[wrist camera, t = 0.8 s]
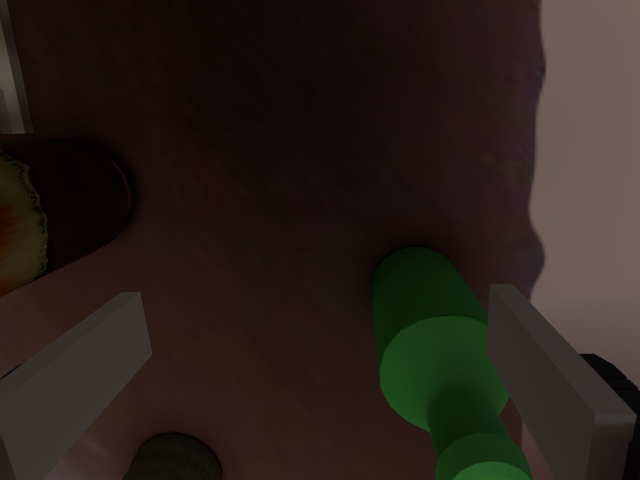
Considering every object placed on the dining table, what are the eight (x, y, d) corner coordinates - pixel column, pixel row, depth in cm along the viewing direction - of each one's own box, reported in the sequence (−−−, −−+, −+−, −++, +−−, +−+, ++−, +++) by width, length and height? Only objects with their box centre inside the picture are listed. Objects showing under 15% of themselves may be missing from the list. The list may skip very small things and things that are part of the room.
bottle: (367, 247, 41) (384, 421, 17) (456, 240, 40) (608, 413, 16) (374, 326, 43) (397, 578, 19) (458, 321, 42) (593, 580, 18)
